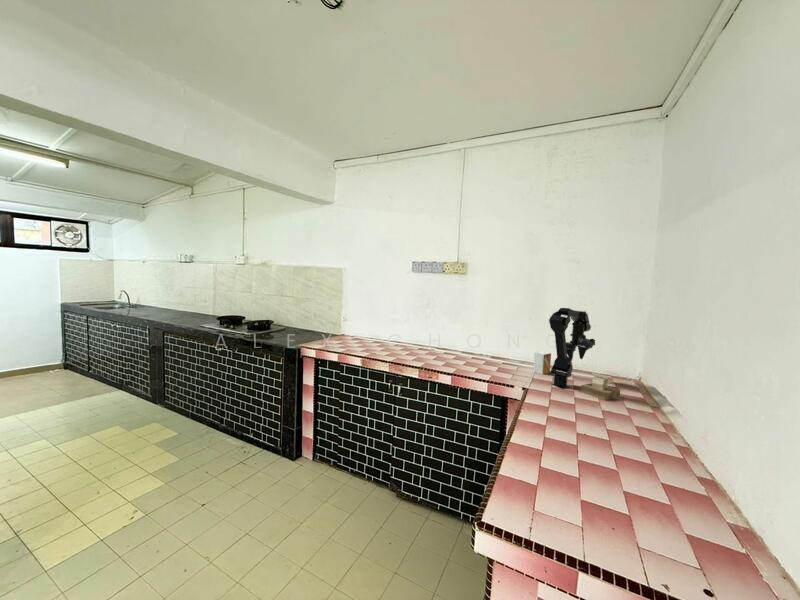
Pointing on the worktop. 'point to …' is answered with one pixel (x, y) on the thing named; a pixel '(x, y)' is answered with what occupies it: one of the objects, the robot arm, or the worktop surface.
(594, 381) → the maple cube
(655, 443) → the worktop surface
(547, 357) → the small box
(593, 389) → the walnut block
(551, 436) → the worktop surface
